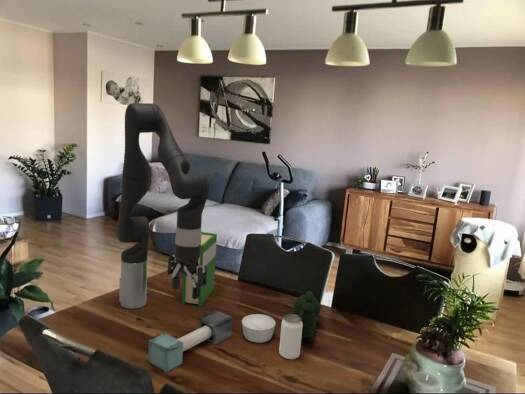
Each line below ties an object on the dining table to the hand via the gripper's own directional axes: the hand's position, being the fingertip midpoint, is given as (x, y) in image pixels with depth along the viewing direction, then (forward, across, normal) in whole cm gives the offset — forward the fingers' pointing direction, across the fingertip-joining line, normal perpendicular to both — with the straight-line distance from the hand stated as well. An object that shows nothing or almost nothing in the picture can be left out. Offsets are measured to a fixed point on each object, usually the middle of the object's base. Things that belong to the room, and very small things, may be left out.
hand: (185, 293), depth 125 cm
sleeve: (+18, +1, +13) cm, 22 cm away
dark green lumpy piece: (+18, +21, +37) cm, 46 cm away
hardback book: (+19, -25, +30) cm, 44 cm away
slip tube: (+18, +2, +3) cm, 19 cm away
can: (+18, +25, +21) cm, 38 cm away
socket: (+18, +2, -8) cm, 20 cm away
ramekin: (+19, +11, +23) cm, 32 cm away
